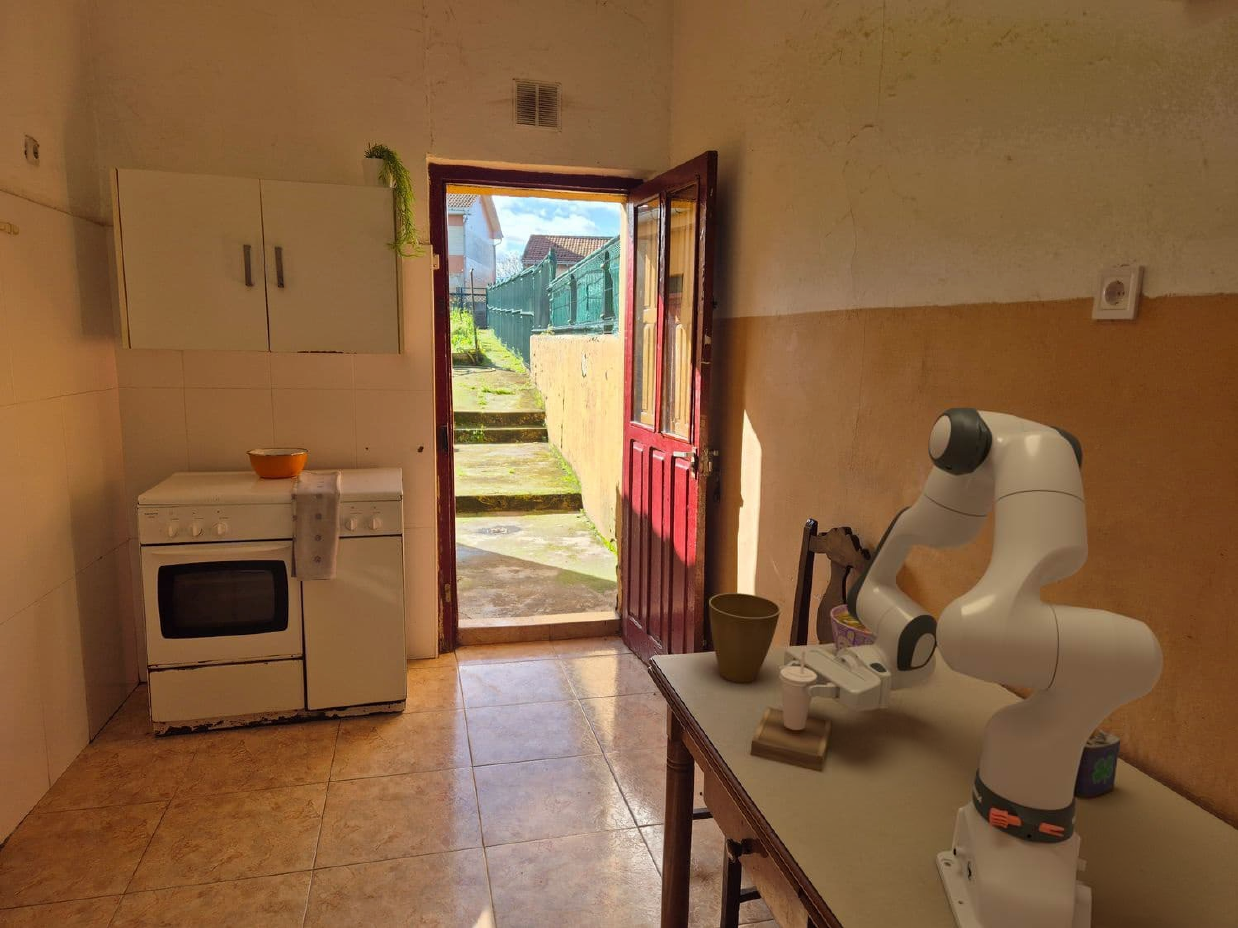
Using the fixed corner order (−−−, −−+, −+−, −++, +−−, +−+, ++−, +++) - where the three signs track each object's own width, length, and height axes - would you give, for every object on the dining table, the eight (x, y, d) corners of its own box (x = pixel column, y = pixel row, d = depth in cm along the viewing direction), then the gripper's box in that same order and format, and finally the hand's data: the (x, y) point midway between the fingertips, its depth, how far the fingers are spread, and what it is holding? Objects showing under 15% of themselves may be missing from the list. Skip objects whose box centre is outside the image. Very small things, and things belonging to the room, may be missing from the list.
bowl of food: (822, 677, 167) (827, 626, 165) (828, 644, 186) (832, 598, 184) (921, 695, 161) (927, 642, 159) (917, 659, 180) (922, 611, 178)
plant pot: (693, 680, 163) (698, 607, 160) (718, 656, 176) (723, 588, 173) (762, 697, 156) (768, 622, 153) (782, 671, 169) (788, 601, 166)
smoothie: (810, 736, 134) (817, 659, 132) (773, 729, 136) (779, 653, 134) (814, 720, 140) (820, 646, 138) (778, 713, 142) (784, 640, 140)
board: (821, 771, 130) (823, 756, 129) (750, 754, 134) (751, 739, 134) (831, 733, 143) (832, 719, 142) (765, 719, 147) (767, 706, 146)
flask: (1102, 781, 131) (1111, 722, 129) (1119, 790, 128) (1129, 730, 127) (1065, 792, 127) (1074, 731, 125) (1082, 802, 125) (1092, 740, 123)
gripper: (821, 634, 151) (761, 642, 145) (897, 677, 132) (832, 688, 127) (818, 665, 152) (759, 674, 146) (894, 712, 133) (829, 725, 127)
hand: (793, 681), depth 136 cm, fingers closed on smoothie, 6 cm apart
